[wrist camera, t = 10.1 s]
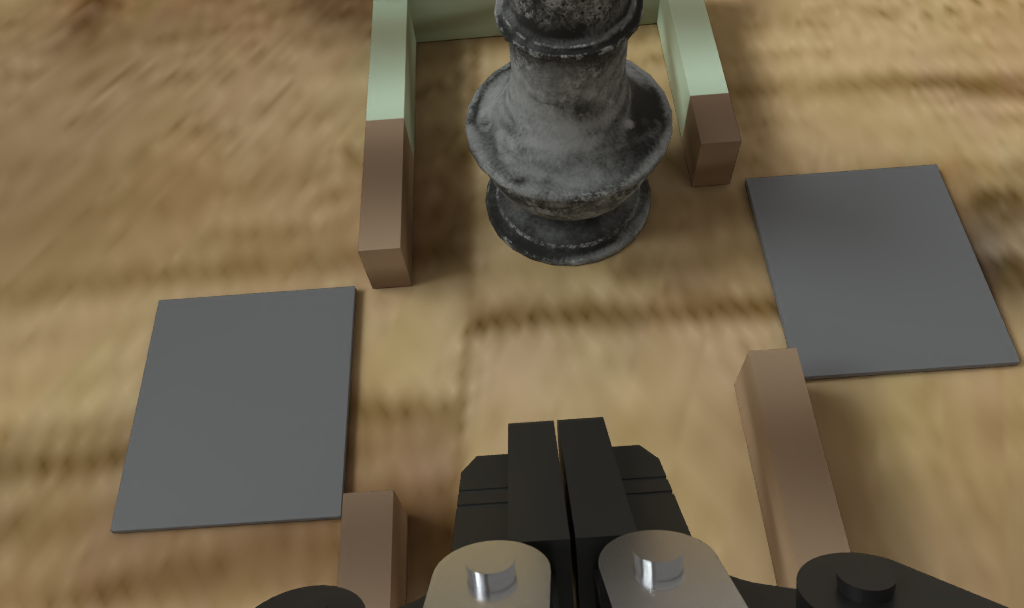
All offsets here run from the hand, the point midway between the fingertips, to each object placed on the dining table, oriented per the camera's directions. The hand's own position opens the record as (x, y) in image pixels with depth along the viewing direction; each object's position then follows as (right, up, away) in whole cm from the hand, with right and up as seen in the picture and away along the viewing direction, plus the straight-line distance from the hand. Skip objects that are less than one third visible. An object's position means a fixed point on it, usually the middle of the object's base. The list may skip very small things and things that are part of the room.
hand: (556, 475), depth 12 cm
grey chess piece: (+1, +6, +13) cm, 15 cm away
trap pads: (+1, +2, +10) cm, 11 cm away
